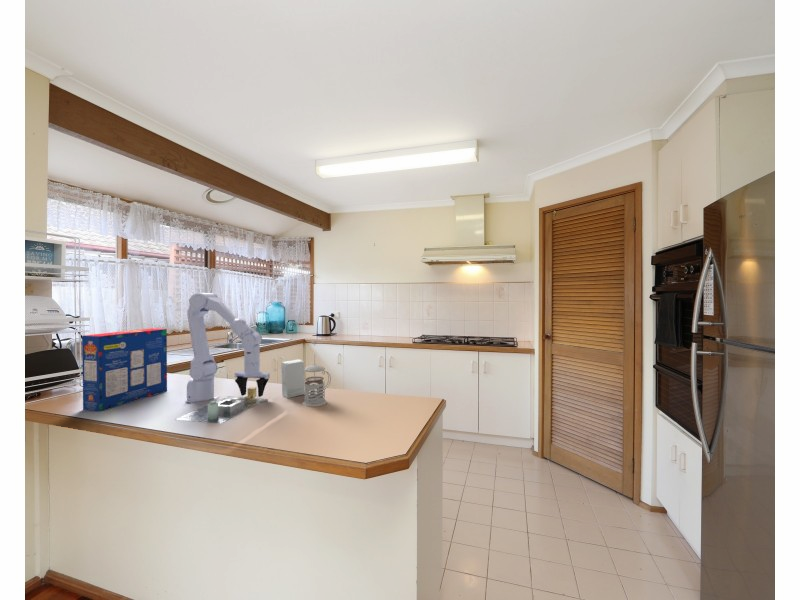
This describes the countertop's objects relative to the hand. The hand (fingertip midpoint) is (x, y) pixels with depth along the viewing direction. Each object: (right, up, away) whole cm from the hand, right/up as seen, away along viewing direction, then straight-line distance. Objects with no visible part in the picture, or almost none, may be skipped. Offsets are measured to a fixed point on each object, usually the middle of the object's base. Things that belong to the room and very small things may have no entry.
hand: (252, 395), depth 139 cm
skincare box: (+14, -3, +9) cm, 17 cm away
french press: (+26, -3, 0) cm, 26 cm away
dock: (-5, -3, -11) cm, 13 cm away
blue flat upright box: (-52, -2, +2) cm, 52 cm away
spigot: (-4, -2, -22) cm, 22 cm away
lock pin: (-1, -1, -4) cm, 4 cm away
